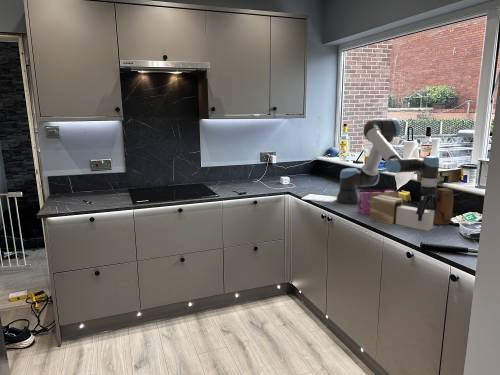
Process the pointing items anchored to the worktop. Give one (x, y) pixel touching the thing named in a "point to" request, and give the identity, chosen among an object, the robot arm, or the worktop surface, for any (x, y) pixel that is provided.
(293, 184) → the worktop surface
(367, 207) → the gum box
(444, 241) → the worktop surface
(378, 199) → the tan wooden box
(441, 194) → the block
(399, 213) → the block
